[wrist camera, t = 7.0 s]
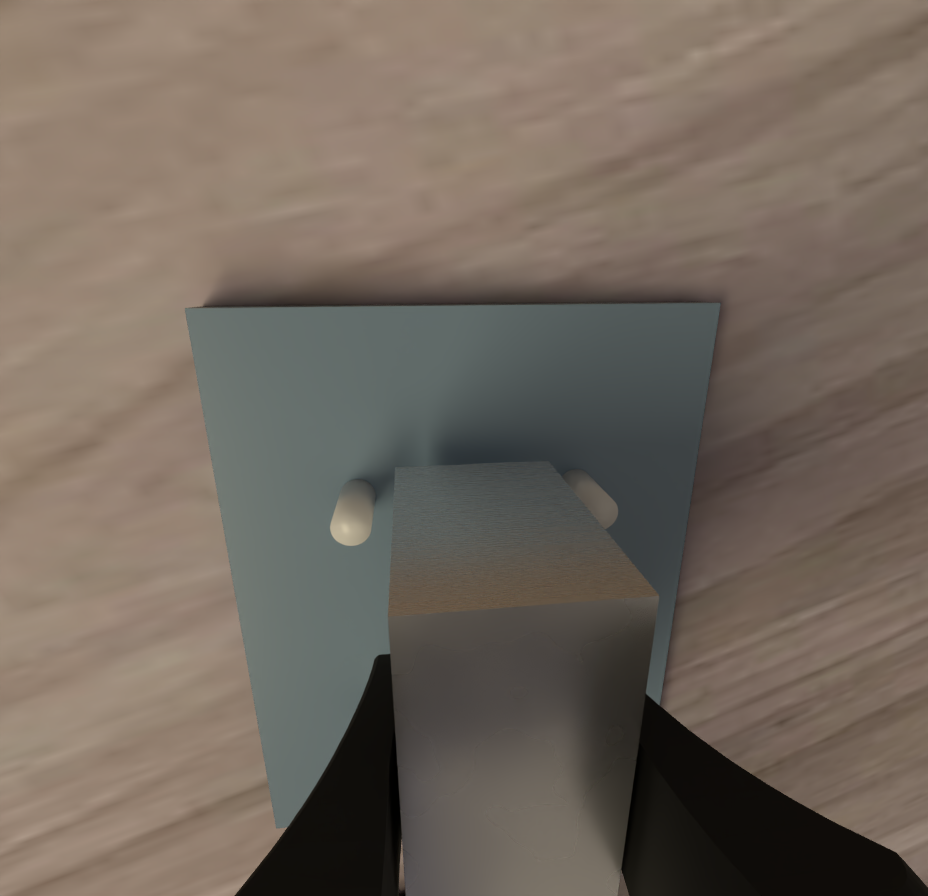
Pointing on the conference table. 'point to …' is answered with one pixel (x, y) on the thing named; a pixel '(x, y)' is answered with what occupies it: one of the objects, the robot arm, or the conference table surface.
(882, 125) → the conference table surface
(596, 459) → the tray
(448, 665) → the beige rectangular block
